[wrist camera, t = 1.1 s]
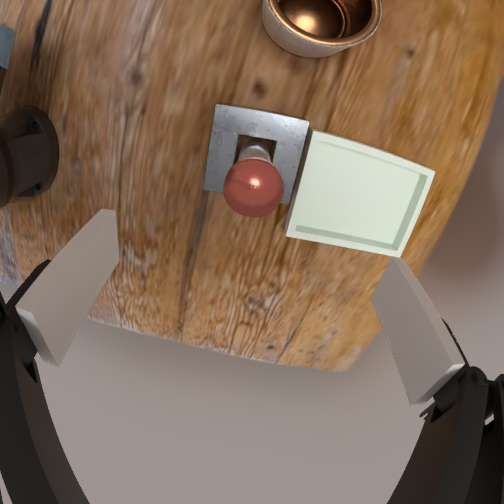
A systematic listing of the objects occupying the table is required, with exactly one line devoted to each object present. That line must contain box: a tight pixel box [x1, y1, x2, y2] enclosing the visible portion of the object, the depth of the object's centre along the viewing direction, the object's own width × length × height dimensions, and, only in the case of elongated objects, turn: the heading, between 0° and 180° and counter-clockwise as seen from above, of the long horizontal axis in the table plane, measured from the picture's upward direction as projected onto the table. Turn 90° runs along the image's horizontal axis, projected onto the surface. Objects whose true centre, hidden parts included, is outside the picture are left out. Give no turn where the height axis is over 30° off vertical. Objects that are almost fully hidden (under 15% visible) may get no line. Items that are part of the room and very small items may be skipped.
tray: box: [284, 128, 435, 258], centre depth 35 cm, size 18×14×2 cm
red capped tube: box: [223, 136, 284, 217], centre depth 27 cm, size 4×4×15 cm
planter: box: [262, 0, 382, 58], centre depth 20 cm, size 11×11×10 cm
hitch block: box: [204, 103, 309, 204], centre depth 31 cm, size 10×10×4 cm
